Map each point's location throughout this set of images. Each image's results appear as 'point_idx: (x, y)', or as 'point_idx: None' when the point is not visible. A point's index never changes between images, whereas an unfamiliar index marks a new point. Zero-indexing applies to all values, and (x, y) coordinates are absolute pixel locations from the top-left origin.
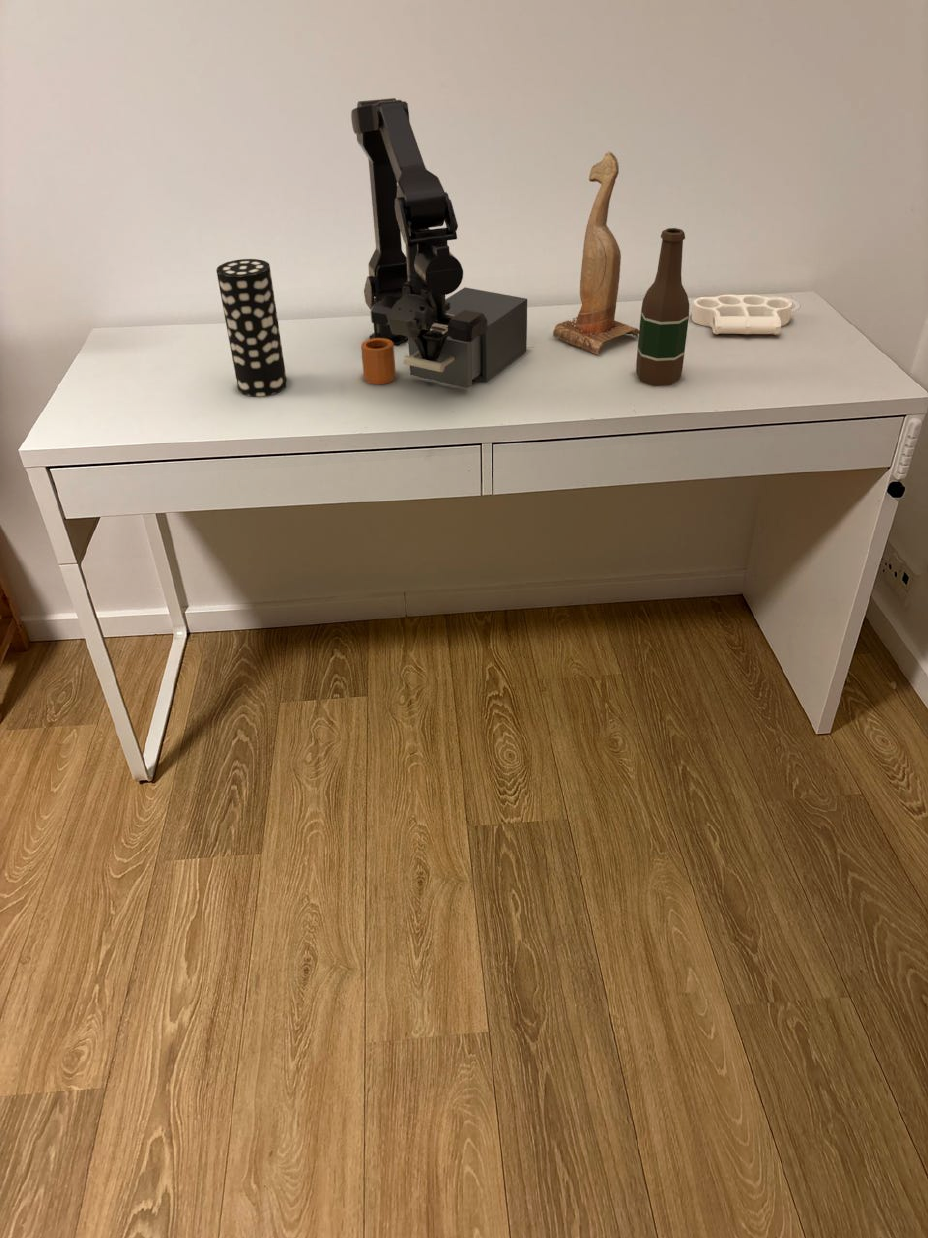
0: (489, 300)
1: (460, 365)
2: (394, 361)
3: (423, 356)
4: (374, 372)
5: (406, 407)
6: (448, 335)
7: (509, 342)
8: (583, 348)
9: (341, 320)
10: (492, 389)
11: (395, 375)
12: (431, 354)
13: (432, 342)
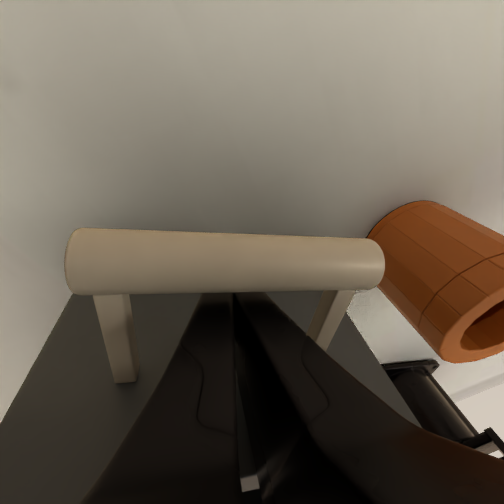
0: None
1: (89, 346)
2: (391, 293)
3: (267, 310)
4: (446, 219)
5: (254, 46)
6: None
7: None
8: None
9: (479, 378)
10: (42, 313)
11: None
12: (197, 336)
13: (139, 489)
